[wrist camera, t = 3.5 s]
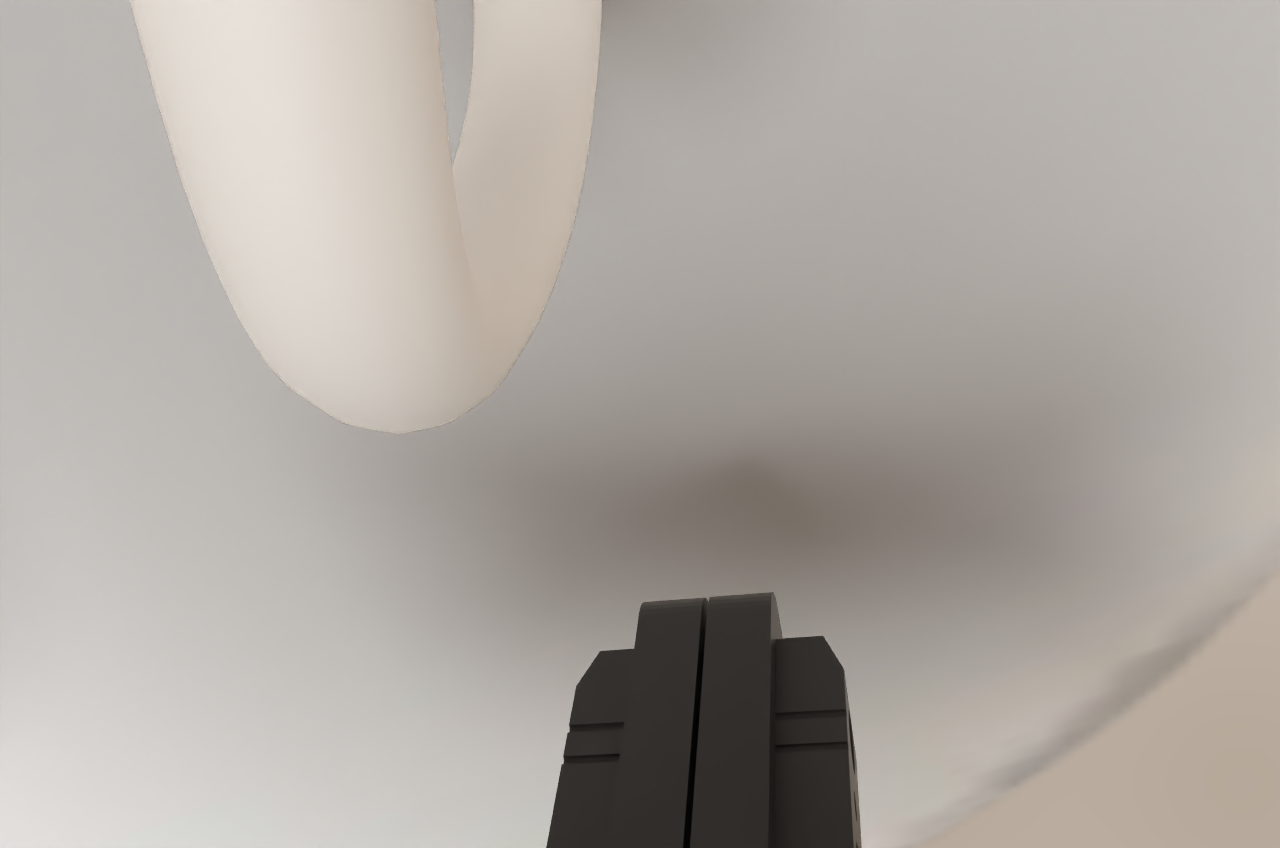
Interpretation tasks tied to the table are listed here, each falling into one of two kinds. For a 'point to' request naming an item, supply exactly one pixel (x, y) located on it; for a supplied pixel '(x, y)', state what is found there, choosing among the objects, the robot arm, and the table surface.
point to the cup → (378, 186)
